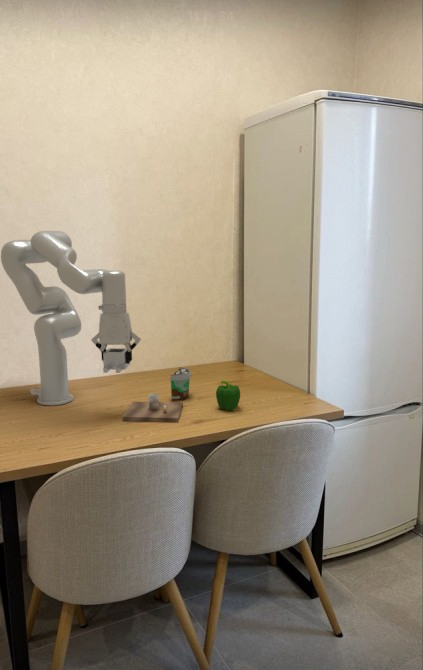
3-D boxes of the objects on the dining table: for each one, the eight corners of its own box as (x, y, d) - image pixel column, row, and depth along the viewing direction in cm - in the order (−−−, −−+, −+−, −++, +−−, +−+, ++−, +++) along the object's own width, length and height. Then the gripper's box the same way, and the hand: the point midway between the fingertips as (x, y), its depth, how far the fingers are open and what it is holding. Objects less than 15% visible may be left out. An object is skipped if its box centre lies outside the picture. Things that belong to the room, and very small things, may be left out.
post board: (122, 421, 170) (121, 402, 169) (132, 405, 186) (131, 387, 185) (178, 422, 170) (177, 402, 168) (183, 406, 185) (182, 388, 184)
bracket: (109, 364, 178) (108, 348, 177) (129, 364, 177) (129, 348, 176) (100, 372, 167) (99, 355, 166) (122, 372, 166) (121, 355, 165)
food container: (187, 403, 189) (186, 376, 187) (170, 401, 190) (170, 375, 188) (195, 393, 201) (194, 367, 199) (179, 392, 202) (179, 366, 200)
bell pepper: (245, 407, 184) (245, 379, 182) (232, 414, 177) (232, 385, 176) (224, 403, 189) (224, 376, 187) (211, 409, 182) (211, 381, 180)
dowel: (162, 413, 173) (162, 406, 173) (163, 412, 175) (163, 405, 174) (166, 413, 173) (166, 406, 173) (167, 412, 175) (166, 405, 174)
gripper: (84, 310, 167) (87, 365, 171) (139, 310, 166) (141, 365, 169) (91, 307, 175) (94, 360, 178) (143, 307, 174) (145, 360, 177)
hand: (117, 362), depth 174 cm, fingers closed on bracket, 7 cm apart
